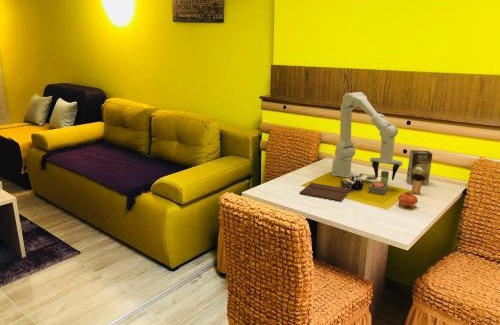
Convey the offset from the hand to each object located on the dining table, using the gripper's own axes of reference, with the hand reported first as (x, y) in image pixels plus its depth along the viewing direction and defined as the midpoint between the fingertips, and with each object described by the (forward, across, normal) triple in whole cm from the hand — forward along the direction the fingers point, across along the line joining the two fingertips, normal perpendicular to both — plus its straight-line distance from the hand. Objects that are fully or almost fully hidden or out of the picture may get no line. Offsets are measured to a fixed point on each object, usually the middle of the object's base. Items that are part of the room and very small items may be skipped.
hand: (384, 178), depth 196 cm
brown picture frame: (+5, -8, +9) cm, 13 cm away
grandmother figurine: (+5, +15, 0) cm, 16 cm away
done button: (+3, -1, -7) cm, 8 cm away
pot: (+5, +14, -19) cm, 24 cm away
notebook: (+6, -22, -21) cm, 31 cm away
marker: (+5, 0, 0) cm, 5 cm away
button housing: (+5, -1, -7) cm, 9 cm away
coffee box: (+5, +13, +16) cm, 21 cm away
